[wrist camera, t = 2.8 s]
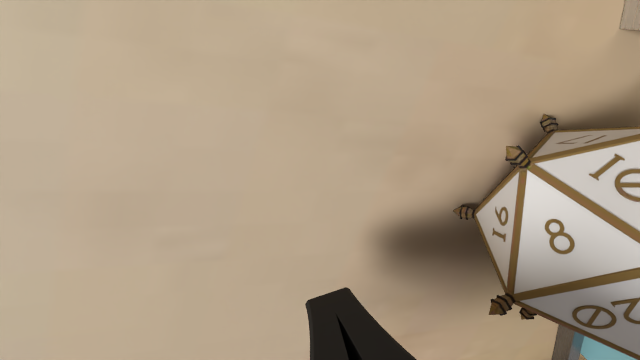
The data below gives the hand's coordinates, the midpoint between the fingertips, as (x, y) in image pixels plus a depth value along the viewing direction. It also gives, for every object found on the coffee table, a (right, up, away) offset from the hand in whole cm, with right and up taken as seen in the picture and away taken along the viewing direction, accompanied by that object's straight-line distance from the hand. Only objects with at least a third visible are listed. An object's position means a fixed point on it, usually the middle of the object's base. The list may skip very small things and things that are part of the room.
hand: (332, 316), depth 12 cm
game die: (+8, +4, +5) cm, 10 cm away
